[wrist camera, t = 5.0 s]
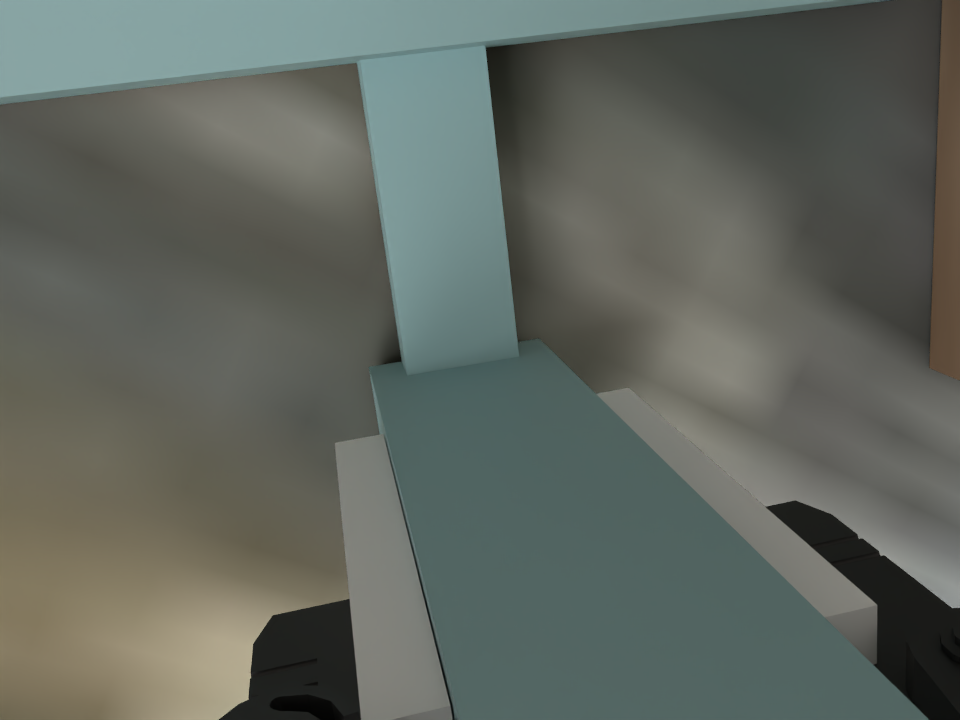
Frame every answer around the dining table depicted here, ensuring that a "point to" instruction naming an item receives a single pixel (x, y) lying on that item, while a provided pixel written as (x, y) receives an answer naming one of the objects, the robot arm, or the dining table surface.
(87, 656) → the dining table surface
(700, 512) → the sled
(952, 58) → the wooden slat rack
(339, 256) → the dining table surface
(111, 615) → the dining table surface
